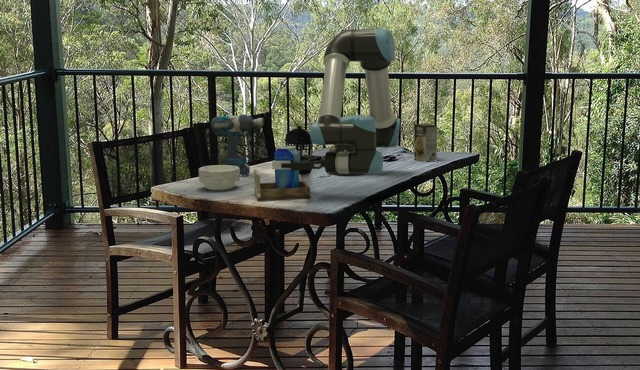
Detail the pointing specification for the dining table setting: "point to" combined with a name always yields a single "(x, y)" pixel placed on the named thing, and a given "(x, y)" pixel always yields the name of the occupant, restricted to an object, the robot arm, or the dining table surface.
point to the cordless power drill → (235, 136)
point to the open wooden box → (279, 190)
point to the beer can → (286, 176)
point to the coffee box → (425, 142)
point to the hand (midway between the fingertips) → (277, 162)
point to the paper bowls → (219, 176)
